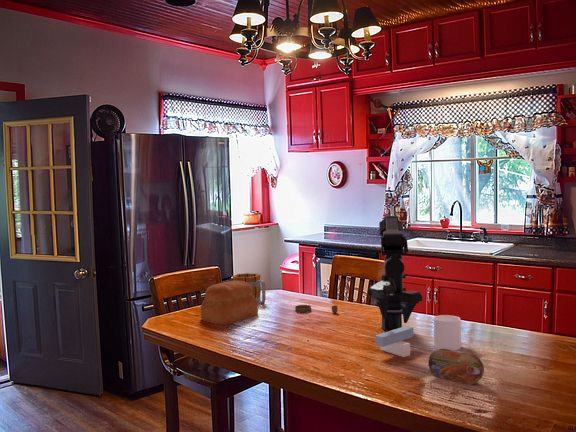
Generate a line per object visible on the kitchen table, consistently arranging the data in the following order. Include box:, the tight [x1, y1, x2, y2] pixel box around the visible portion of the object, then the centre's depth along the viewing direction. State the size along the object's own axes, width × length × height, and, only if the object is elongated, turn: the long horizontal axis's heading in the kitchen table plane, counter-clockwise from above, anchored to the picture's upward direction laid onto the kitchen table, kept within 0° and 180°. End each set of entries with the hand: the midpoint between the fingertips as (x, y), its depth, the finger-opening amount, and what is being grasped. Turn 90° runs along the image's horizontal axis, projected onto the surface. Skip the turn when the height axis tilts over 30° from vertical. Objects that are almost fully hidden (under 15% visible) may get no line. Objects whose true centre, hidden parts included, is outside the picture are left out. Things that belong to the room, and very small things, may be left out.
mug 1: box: [231, 272, 267, 305], centre depth 244 cm, size 20×14×15 cm
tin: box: [428, 349, 485, 386], centre depth 143 cm, size 15×3×8 cm, turn 51°
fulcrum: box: [380, 340, 411, 358], centre depth 166 cm, size 11×12×5 cm
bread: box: [200, 280, 259, 326], centre depth 217 cm, size 18×22×17 cm
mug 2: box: [432, 314, 462, 351], centre depth 172 cm, size 9×12×11 cm
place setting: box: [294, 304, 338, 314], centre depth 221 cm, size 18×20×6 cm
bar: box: [374, 325, 414, 348], centre depth 166 cm, size 16×3×3 cm, turn 131°
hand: (394, 320), depth 166 cm, fingers open, 9 cm apart
